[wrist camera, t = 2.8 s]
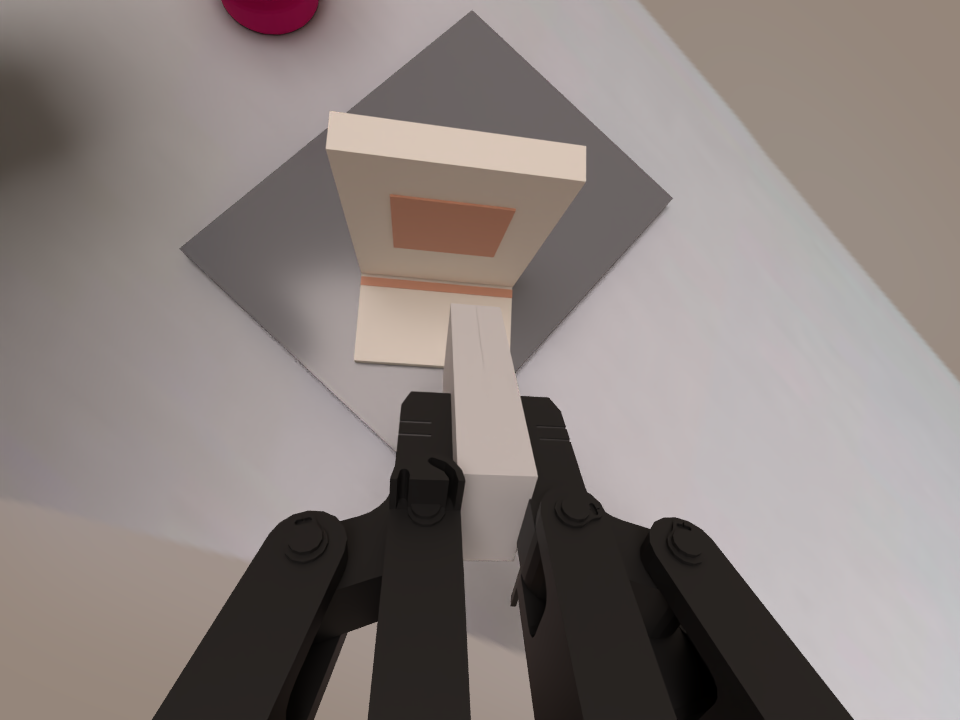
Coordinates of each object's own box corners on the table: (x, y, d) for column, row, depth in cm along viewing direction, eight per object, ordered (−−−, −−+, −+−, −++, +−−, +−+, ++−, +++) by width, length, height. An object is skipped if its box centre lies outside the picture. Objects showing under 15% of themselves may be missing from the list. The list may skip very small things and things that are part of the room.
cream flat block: (512, 288, 28) (586, 184, 17) (361, 274, 27) (325, 151, 15) (513, 264, 29) (586, 146, 17) (363, 250, 27) (329, 110, 16)
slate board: (187, 255, 28) (179, 248, 27) (470, 22, 33) (472, 10, 32) (420, 474, 28) (420, 475, 27) (665, 205, 33) (672, 198, 32)
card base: (506, 372, 29) (509, 370, 28) (355, 362, 27) (353, 360, 26) (510, 263, 30) (513, 257, 29) (365, 248, 28) (364, 242, 28)
